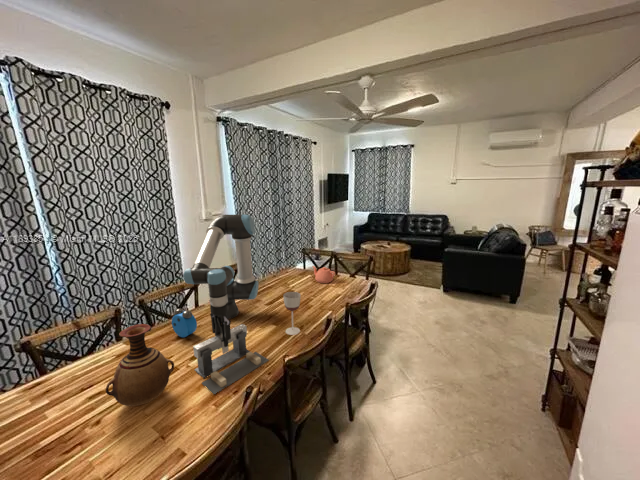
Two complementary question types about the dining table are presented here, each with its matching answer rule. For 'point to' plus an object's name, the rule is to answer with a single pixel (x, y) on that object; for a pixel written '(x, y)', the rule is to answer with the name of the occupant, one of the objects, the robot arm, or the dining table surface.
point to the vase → (139, 370)
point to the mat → (234, 373)
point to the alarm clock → (184, 323)
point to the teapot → (323, 275)
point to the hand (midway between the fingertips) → (222, 349)
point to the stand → (221, 357)
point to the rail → (218, 341)
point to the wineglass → (292, 308)
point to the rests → (222, 381)
